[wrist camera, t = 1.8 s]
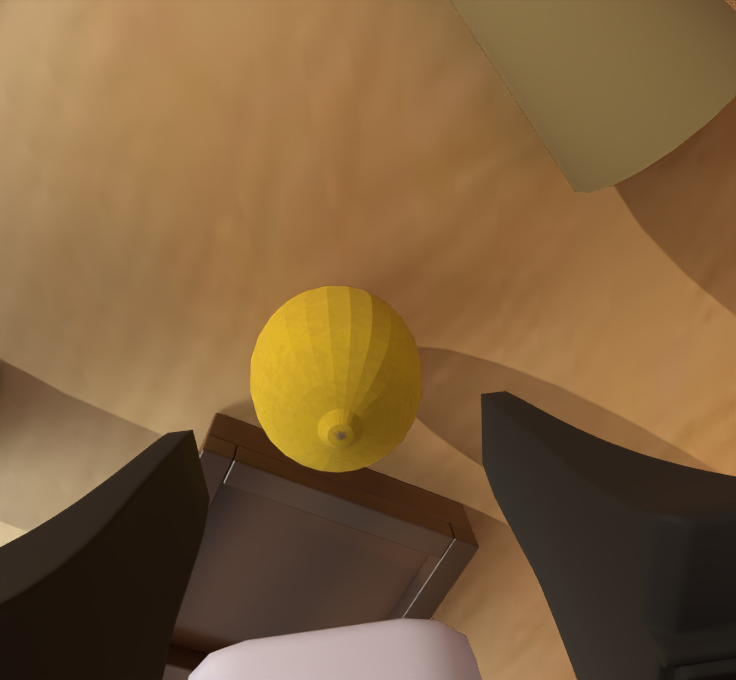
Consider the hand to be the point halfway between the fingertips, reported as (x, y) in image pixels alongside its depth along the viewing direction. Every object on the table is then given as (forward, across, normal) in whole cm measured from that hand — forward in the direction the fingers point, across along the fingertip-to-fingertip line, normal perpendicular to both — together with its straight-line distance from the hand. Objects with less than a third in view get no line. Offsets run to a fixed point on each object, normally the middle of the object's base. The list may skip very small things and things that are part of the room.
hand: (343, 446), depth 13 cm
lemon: (+9, 0, 0) cm, 9 cm away
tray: (+8, +3, +11) cm, 14 cm away
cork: (+6, -11, -7) cm, 14 cm away
